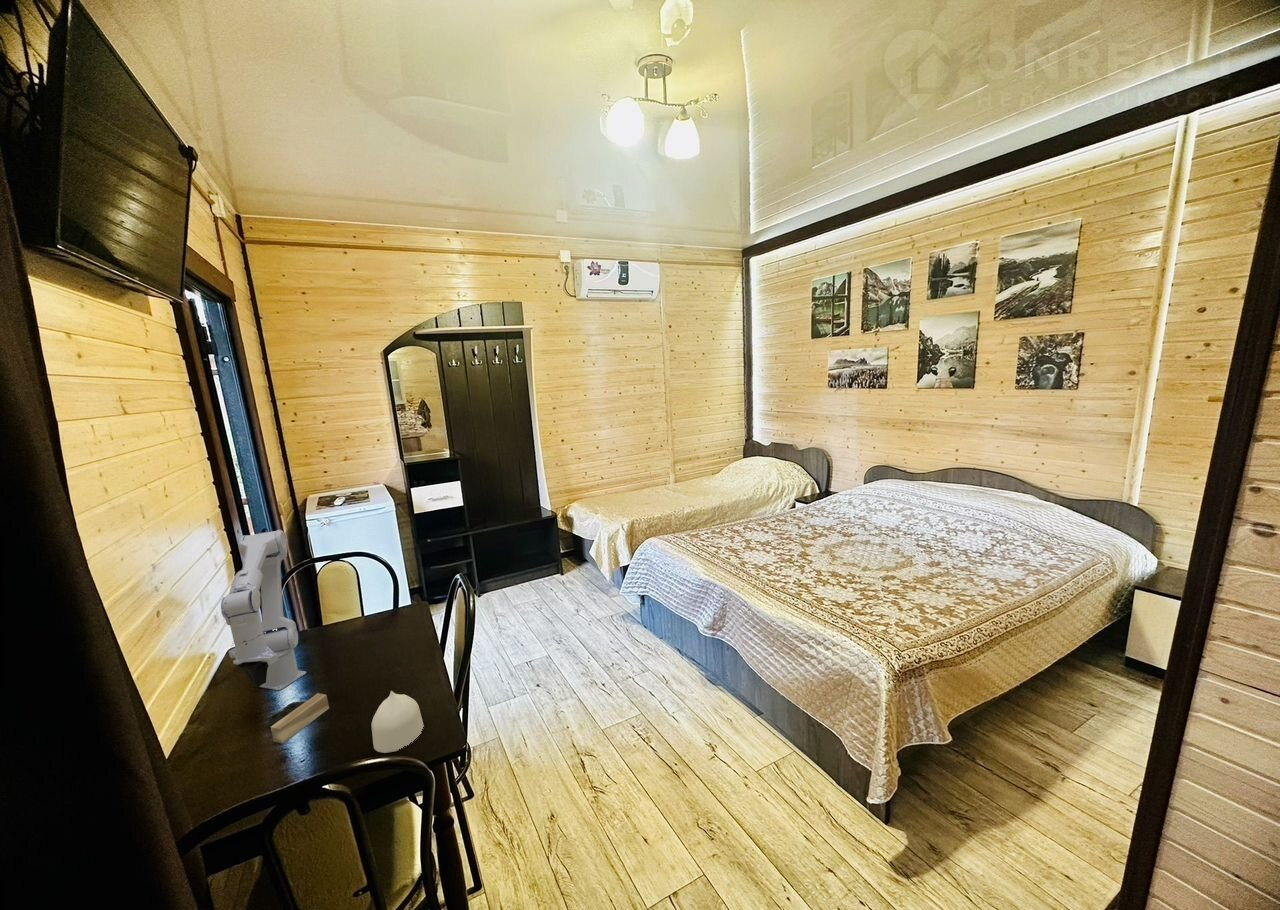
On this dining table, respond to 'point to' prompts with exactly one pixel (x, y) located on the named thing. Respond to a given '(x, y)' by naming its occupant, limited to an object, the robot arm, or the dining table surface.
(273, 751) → the dining table surface
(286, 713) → the gaming controller
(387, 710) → the teardrop
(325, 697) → the bench stop
